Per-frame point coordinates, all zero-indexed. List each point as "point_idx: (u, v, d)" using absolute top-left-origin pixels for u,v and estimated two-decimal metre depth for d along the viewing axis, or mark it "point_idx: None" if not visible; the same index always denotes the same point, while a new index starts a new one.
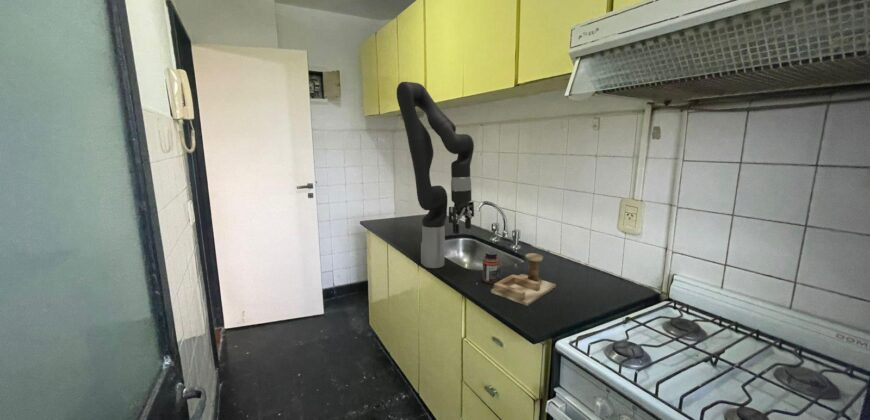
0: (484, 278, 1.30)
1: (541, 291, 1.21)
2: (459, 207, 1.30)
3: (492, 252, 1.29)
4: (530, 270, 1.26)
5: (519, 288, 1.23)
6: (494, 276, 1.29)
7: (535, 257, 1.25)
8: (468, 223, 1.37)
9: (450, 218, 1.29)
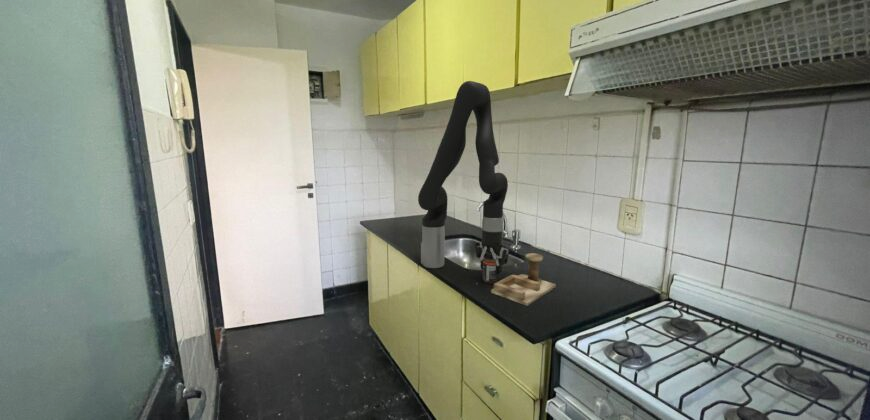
0: (484, 278, 1.30)
1: (541, 291, 1.21)
2: None
3: None
4: (530, 270, 1.26)
5: (519, 288, 1.23)
6: (494, 276, 1.29)
7: (535, 257, 1.25)
8: None
9: None
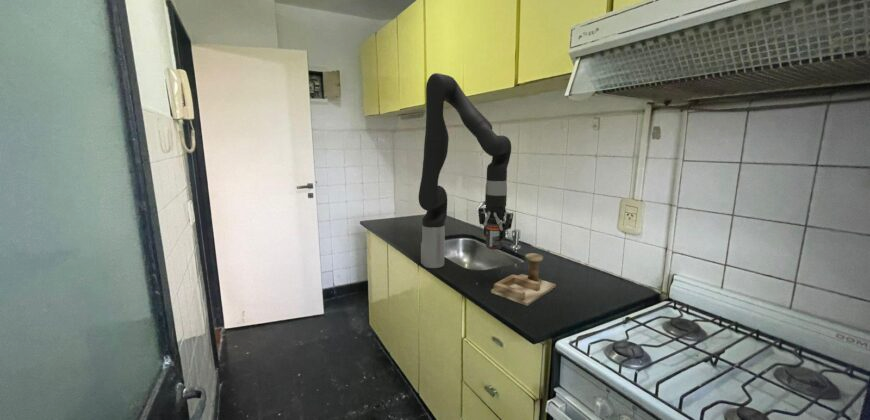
0: (487, 244, 1.28)
1: (541, 291, 1.21)
2: None
3: None
4: (530, 270, 1.26)
5: (519, 288, 1.23)
6: (497, 241, 1.26)
7: (535, 257, 1.25)
8: None
9: None
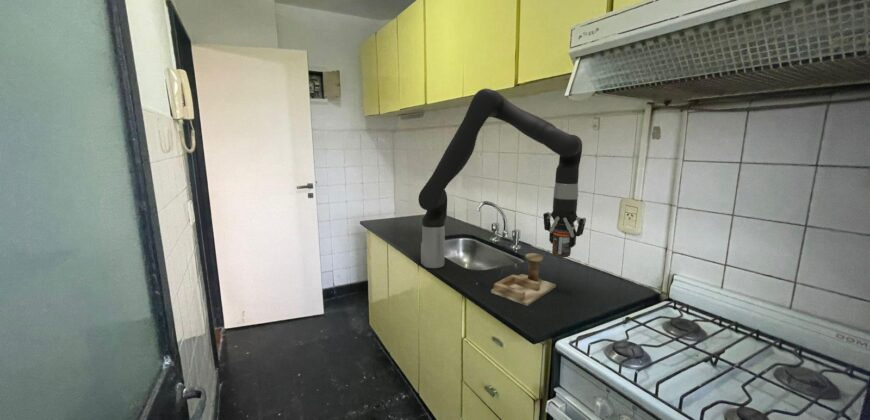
0: (555, 252, 1.19)
1: (541, 291, 1.21)
2: None
3: None
4: (530, 270, 1.26)
5: (519, 288, 1.23)
6: (567, 248, 1.17)
7: (535, 257, 1.25)
8: None
9: None
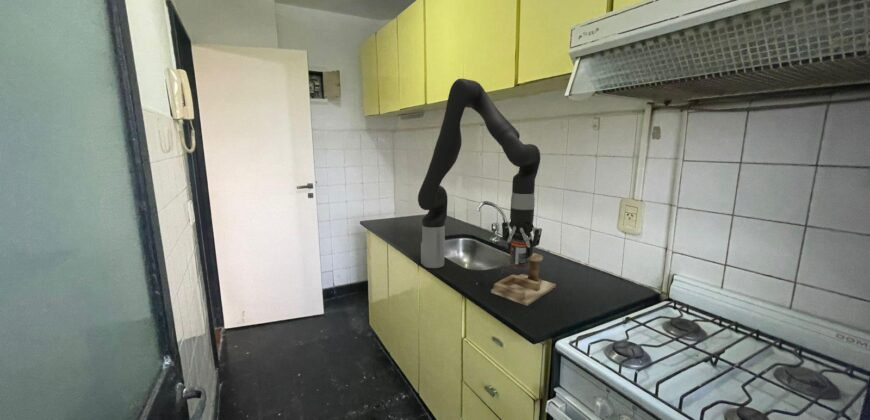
0: (512, 262, 1.18)
1: (541, 291, 1.21)
2: None
3: None
4: (530, 270, 1.26)
5: (519, 288, 1.23)
6: (524, 259, 1.16)
7: (535, 257, 1.25)
8: None
9: None
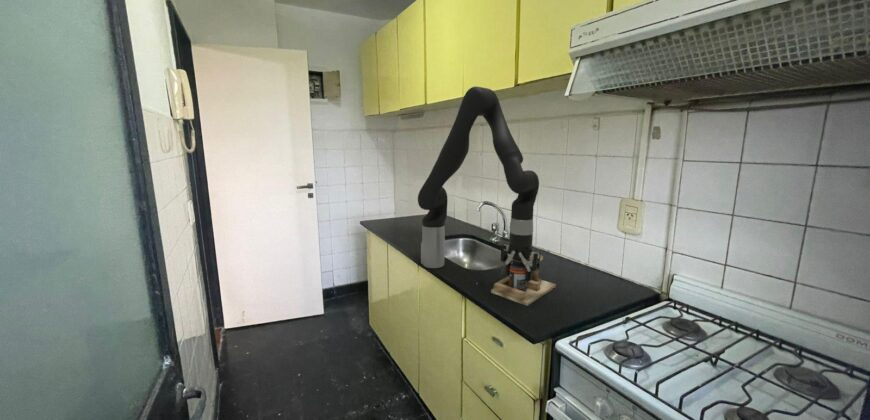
0: None
1: (541, 291, 1.21)
2: None
3: None
4: None
5: None
6: (522, 285, 1.18)
7: None
8: None
9: None
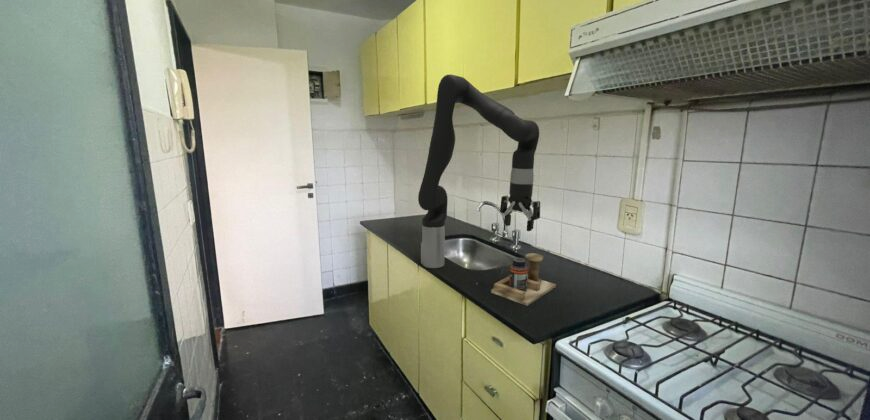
0: None
1: (541, 291, 1.21)
2: None
3: (520, 259, 1.19)
4: (530, 270, 1.26)
5: None
6: (522, 285, 1.18)
7: (535, 257, 1.25)
8: (509, 219, 1.24)
9: None
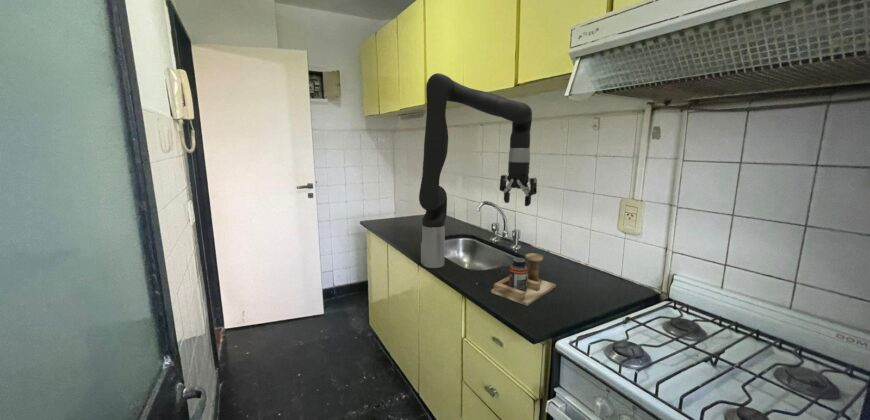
0: None
1: (541, 291, 1.21)
2: None
3: (520, 259, 1.19)
4: (530, 270, 1.26)
5: None
6: (522, 285, 1.18)
7: (535, 257, 1.25)
8: (508, 197, 1.34)
9: None
